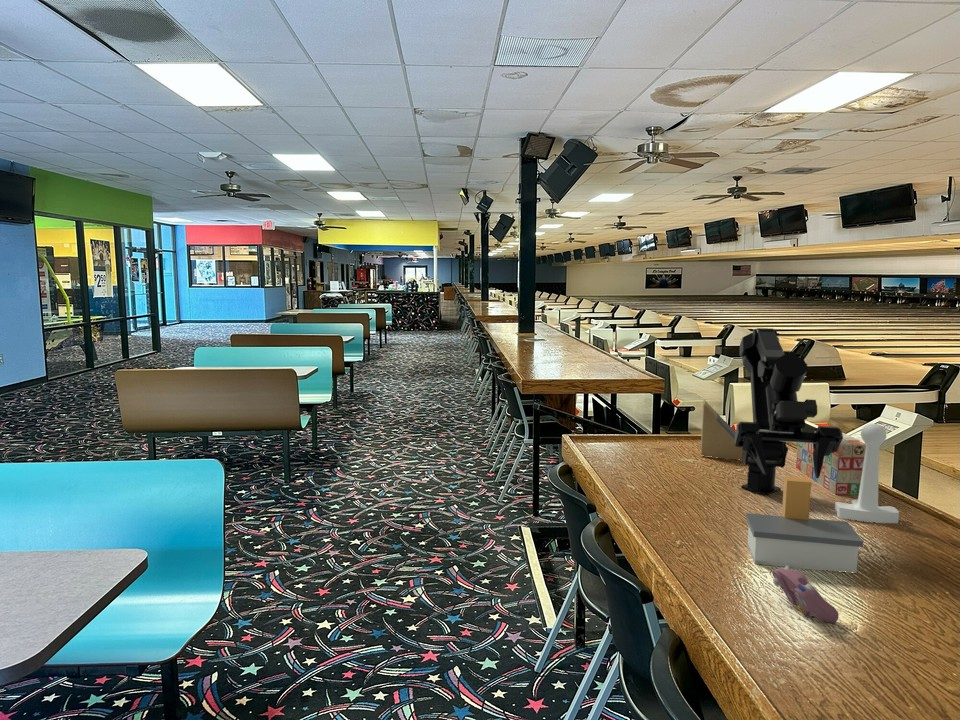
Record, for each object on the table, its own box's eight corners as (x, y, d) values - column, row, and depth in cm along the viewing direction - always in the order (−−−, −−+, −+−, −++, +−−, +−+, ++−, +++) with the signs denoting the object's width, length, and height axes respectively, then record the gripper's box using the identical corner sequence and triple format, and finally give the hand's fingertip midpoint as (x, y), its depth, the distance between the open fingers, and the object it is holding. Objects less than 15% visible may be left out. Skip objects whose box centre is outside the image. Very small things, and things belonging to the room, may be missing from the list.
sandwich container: (761, 462, 175) (764, 408, 174) (701, 457, 180) (703, 404, 178) (758, 454, 184) (761, 402, 182) (700, 449, 188) (703, 398, 186)
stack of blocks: (794, 468, 170) (798, 422, 169) (819, 468, 170) (822, 422, 169) (835, 495, 149) (839, 443, 148) (863, 496, 149) (867, 443, 147)
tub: (747, 545, 121) (748, 519, 121) (842, 554, 117) (844, 527, 117) (754, 563, 113) (756, 536, 113) (856, 574, 110) (858, 545, 109)
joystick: (839, 519, 134) (847, 424, 132) (830, 507, 142) (837, 416, 139) (900, 524, 131) (909, 428, 129) (887, 511, 139) (895, 419, 136)
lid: (744, 519, 123) (746, 473, 122) (843, 527, 119) (847, 480, 118) (753, 541, 113) (756, 492, 111) (862, 551, 109) (866, 500, 107)
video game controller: (778, 602, 103) (762, 565, 102) (804, 588, 103) (787, 552, 102) (815, 636, 94) (797, 595, 93) (843, 621, 94) (826, 581, 93)
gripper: (739, 381, 129) (745, 450, 120) (843, 385, 124) (857, 457, 115) (732, 413, 137) (736, 479, 128) (829, 418, 133) (841, 486, 124)
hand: (791, 475), depth 124 cm, fingers open, 9 cm apart
